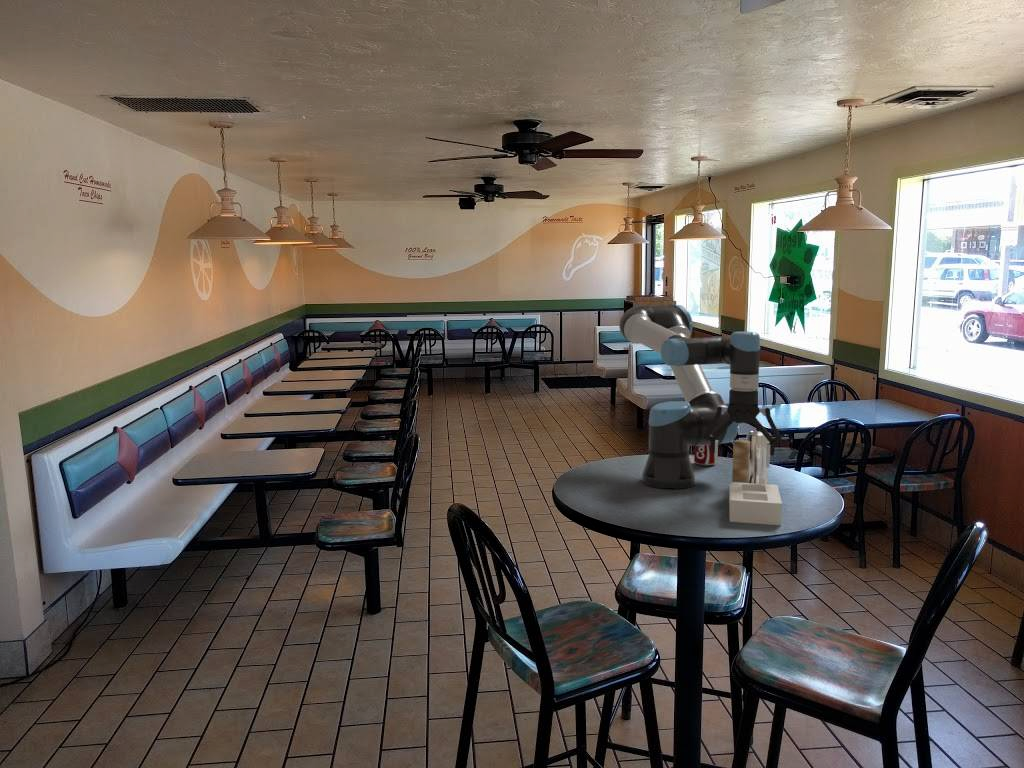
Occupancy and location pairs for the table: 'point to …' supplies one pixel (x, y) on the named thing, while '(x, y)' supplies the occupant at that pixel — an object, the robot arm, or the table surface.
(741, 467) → the oak peg
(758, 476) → the beer glass
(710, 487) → the table surface
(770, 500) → the square-hole block
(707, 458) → the soda can
